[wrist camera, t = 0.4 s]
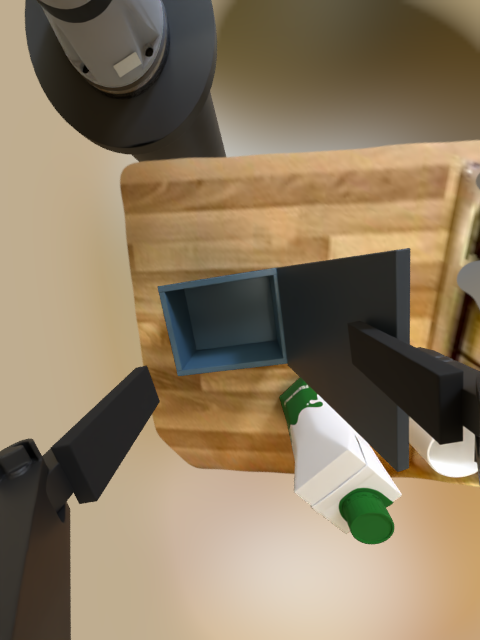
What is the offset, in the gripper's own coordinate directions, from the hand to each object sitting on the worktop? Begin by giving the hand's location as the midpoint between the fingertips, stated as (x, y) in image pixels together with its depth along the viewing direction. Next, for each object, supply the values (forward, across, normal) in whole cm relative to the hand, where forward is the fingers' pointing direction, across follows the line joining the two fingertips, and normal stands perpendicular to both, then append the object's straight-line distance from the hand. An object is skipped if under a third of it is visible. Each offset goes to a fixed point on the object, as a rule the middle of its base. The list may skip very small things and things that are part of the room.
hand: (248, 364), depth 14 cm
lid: (+6, +6, -1) cm, 8 cm away
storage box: (+23, -3, -1) cm, 24 cm away
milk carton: (+23, +7, -19) cm, 30 cm away
